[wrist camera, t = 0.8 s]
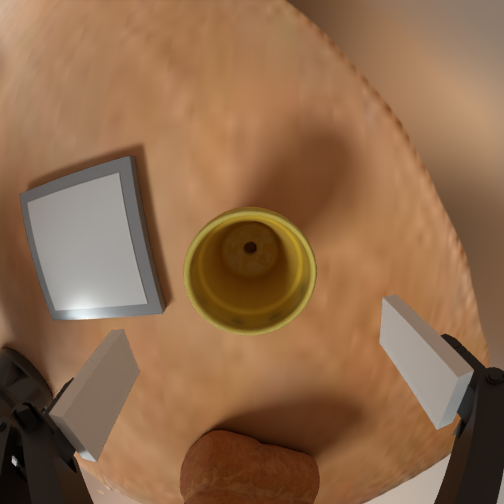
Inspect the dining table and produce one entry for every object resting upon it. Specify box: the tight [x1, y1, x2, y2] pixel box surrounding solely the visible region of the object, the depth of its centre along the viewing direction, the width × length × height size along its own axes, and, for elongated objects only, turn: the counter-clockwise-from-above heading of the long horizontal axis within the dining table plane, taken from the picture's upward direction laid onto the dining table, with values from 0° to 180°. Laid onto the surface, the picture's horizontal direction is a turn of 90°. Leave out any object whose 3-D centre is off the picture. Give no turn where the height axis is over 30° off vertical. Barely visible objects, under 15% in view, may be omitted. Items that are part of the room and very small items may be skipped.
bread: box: [180, 430, 320, 504], centre depth 33 cm, size 18×21×17 cm
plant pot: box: [183, 207, 317, 335], centre depth 26 cm, size 10×10×10 cm
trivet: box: [20, 156, 166, 320], centre depth 30 cm, size 18×18×2 cm
